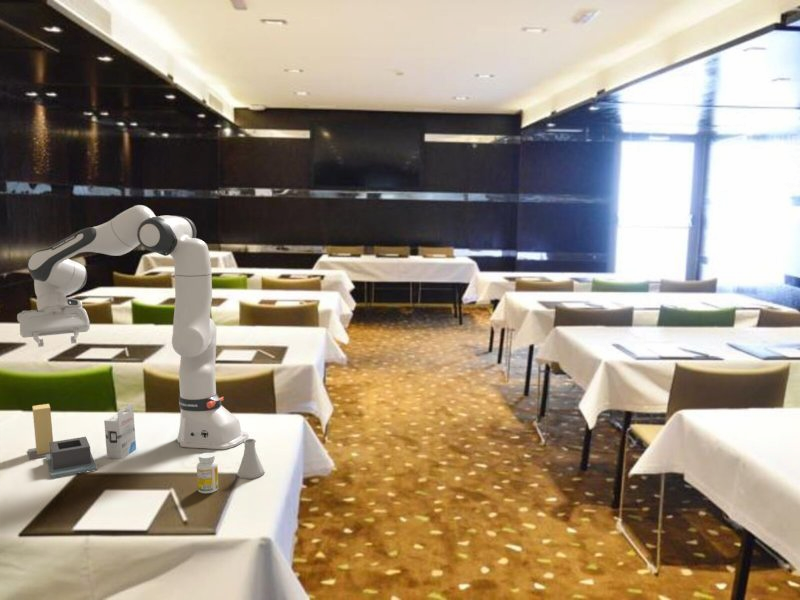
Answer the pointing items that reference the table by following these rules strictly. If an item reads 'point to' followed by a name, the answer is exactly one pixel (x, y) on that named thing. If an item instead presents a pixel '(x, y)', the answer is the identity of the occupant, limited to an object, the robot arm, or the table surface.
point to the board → (70, 468)
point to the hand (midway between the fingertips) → (57, 344)
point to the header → (70, 453)
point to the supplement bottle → (207, 473)
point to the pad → (35, 454)
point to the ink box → (120, 433)
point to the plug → (42, 428)
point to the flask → (250, 462)
